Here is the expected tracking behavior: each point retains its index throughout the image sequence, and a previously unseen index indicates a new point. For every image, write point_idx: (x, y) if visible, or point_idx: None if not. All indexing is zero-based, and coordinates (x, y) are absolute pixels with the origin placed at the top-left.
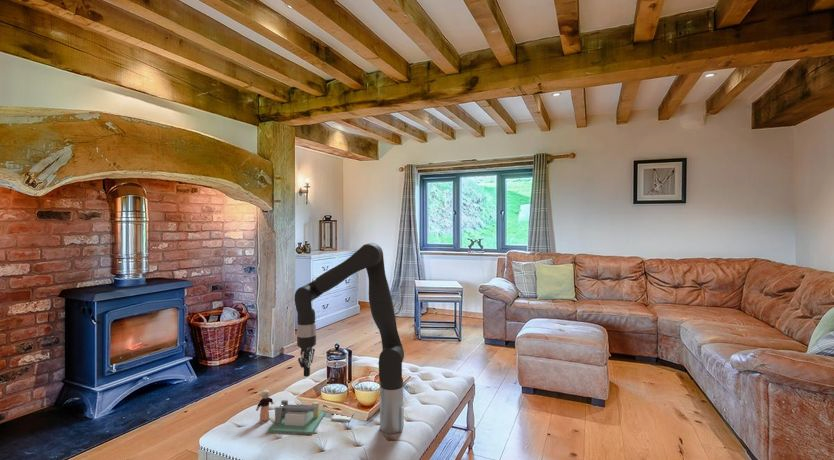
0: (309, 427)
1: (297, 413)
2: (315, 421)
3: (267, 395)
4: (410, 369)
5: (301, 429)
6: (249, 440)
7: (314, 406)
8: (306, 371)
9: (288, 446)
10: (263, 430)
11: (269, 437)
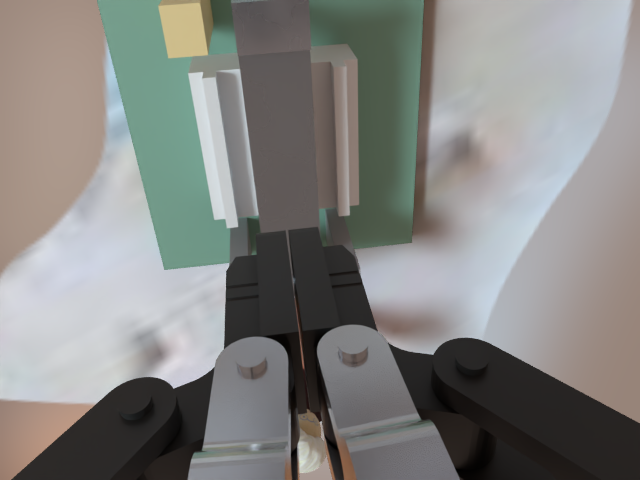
0: None
1: None
2: None
3: (305, 420)
4: None
5: (396, 36)
6: (490, 273)
7: (287, 4)
8: (367, 304)
9: (564, 36)
10: (392, 263)
11: (462, 197)
